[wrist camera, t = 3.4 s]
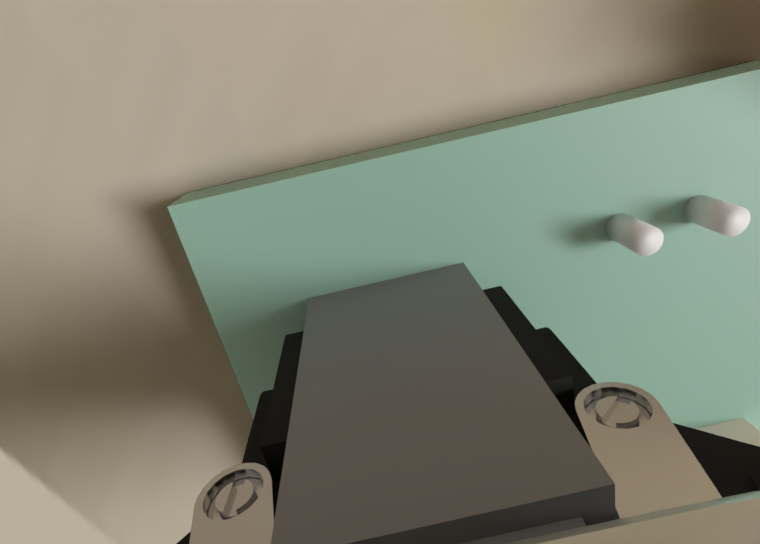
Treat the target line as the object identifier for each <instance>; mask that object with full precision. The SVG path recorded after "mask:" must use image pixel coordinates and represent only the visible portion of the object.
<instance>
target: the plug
mask: <svg viewBox="0 0 760 544" xmlns="http://www.w3.org/2000/svg"><path fill="white" fill-rule="evenodd" d="M612 520H616V506H615V483H614V482H613V480H612V479H611V477H610V476H609V474H608V473H607V471H606V470H605V468H604V467H603V466H602V464H601V463H600V461H599V460H598V458H597V457H596V455H595V454H594V452H593V451H592V449H591V448H590V447H589V445H588V444H587V442H586V441H585V439H584V438H583V436H582V435H581V433H580V432H579V430H578V429H577V428H576V426H575V425H574V423H573V422H572V420H571V419H570V417H569V416H568V414H567V413H566V411H565V410H564V409H563V407H562V406H561V404H560V403H559V401H558V400H557V398H556V397H555V395H554V394H553V392H552V391H551V390H550V388H549V387H548V385H547V384H546V382H545V381H544V379H543V378H542V376H541V375H540V373H539V372H538V371H537V369H536V368H535V366H534V365H533V363H532V362H531V360H530V359H529V357H528V356H527V354H526V353H525V352H524V350H523V349H522V347H521V346H520V344H519V343H518V341H517V340H516V338H515V337H514V335H513V334H512V333H511V331H510V330H509V328H508V327H507V325H506V324H505V322H504V321H503V319H502V318H501V316H500V315H499V314H498V312H497V311H496V309H495V308H494V306H493V305H492V303H491V302H490V300H489V299H488V297H487V296H486V295H485V293H484V292H483V290H482V289H481V287H480V286H479V284H478V283H477V281H476V280H475V278H474V277H473V276H472V274H471V273H470V271H469V270H468V268H467V267H466V265H465V264H464V262H463V263H459V264H455V265H450V266H446V267H442V268H437V269H433V270H429V271H424V272H420V273H415V274H411V275H407V276H402V277H398V278H394V279H389V280H385V281H381V282H376V283H372V284H368V285H363V286H359V287H354V288H350V289H346V290H341V291H337V292H333V293H328V294H324V295H320V296H315V297H311V298H309V300H308V307H307V313H306V320H305V326H304V333H303V339H302V346H301V352H300V358H299V365H298V371H297V378H296V384H295V391H294V397H293V403H292V410H291V416H290V423H289V429H288V436H287V442H286V448H285V455H284V461H283V468H282V474H281V481H280V487H279V493H278V500H277V506H276V513H275V519H274V526H273V532H272V538H271V544H506V543H511V542H515V541H520V540H524V539H529V538H533V537H538V536H543V535H547V534H552V533H556V532H561V531H566V530H570V529H575V528H580V527H584V526H589V525H593V524H598V523H603V522H607V521H612Z"/></svg>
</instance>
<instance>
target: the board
mask: <svg viewBox="0 0 760 544" xmlns="http://www.w3.org/2000/svg"><path fill="white" fill-rule="evenodd" d="M167 208H168V210H169V213H170V215H171V218H172V220H173V223H174V225H175V228H176V230H177V233H178V235H179V238H180V240H181V243H182V245H183V248H184V250H185V252H186V255H187V257H188V260H189V262H190V265H191V267H192V270H193V272H194V275H195V277H196V280H197V282H198V285H199V287H200V290H201V292H202V295H203V297H204V300H205V302H206V304H207V307H208V309H209V312H210V314H211V317H212V319H213V322H214V324H215V327H216V329H217V332H218V334H219V337H220V339H221V342H222V344H223V347H224V349H225V351H226V354H227V356H228V359H229V361H230V364H231V366H232V369H233V371H234V374H235V376H236V379H237V381H238V384H239V386H240V389H241V391H242V394H243V396H244V399H245V401H246V403H247V406H248V408H249V411H250V413H251V416H252V418H253V420H254V416H255V412H256V409H257V405H258V401H259V397H260V395H261V393H262V392H263V391H267V390H271V389H273V387H274V383H275V378H276V374H277V369H278V365H279V361H280V356H281V352H282V347H283V343H284V339H285V335H288V334H292V333H296V332H301V331H304V326H305V320H306V313H307V307H308V300H309V298H311V297H315V296H320V295H324V294H328V293H333V292H337V291H341V290H346V289H350V288H354V287H359V286H363V285H368V284H372V283H376V282H381V281H385V280H389V279H394V278H398V277H402V276H407V275H411V274H415V273H420V272H424V271H429V270H433V269H437V268H442V267H446V266H450V265H455V264H459V263H463V262H464V264H465V265H466V267H467V268H468V270H469V271H470V273H471V274H472V276H473V277H474V278H475V280H476V281H477V283H478V284H479V286H480V287H481V289H482V290H484V289H489V288H493V287H498V286H502V287H503V289H504V290H505V291H506V292H507V294H508V295H509V296H510V297H511V299H512V300H513V301H514V303H515V304H516V305H517V306H518V308H519V309H520V310H521V311H522V313H523V314H524V315H525V316H526V318H527V319H528V320H529V321H530V323H531V324H532V325H533V327H534V328H535V329H540V328H544V327H548V328H549V329H551V330H552V331H553V333H554V334H555V335H556V336H557V337H558V338H559V340H560V341H561V342H562V343H563V344H564V345H565V347H566V348H567V349H568V350H569V351H570V353H571V354H572V355H573V356H574V357H575V358H576V360H577V361H578V362H579V363H580V364H581V365H582V367H583V368H584V369H585V370H586V371H587V372H588V374H589V375H590V376H591V377H592V378H593V379H594V381H595V382H596V383H602V382H620V383H625V384H630V385H633V386H636V387H639V388H642V389H643V390H645V391H647V392H648V393H650V394H651V395H653V396H654V397H655V399H656V400H657V401H658V402H659V403H660V404H661V406H662V407H663V409H664V410H665V412H666V413H667V415H668V416H669V418H670V419H671V421H672V422H673V423H675V424H679V425H683V426H686V427H690V428H693V429H697V430H701V431H704V432H708V433H712V434H715V435H719V436H722V437H726V438H730V439H733V440H737V441H740V442H744V443H748V444H751V445H755V446H759V447H760V60H757V61H752V62H748V63H744V64H739V65H735V66H731V67H726V68H722V69H718V70H714V71H709V72H705V73H701V74H696V75H692V76H688V77H683V78H679V79H675V80H671V81H666V82H662V83H658V84H653V85H649V86H645V87H640V88H636V89H632V90H627V91H623V92H619V93H615V94H610V95H606V96H602V97H597V98H593V99H589V100H584V101H580V102H576V103H572V104H567V105H563V106H559V107H554V108H550V109H546V110H541V111H537V112H533V113H529V114H524V115H520V116H516V117H511V118H507V119H503V120H498V121H494V122H490V123H485V124H481V125H477V126H473V127H468V128H464V129H460V130H455V131H451V132H447V133H442V134H438V135H434V136H430V137H425V138H421V139H417V140H412V141H408V142H404V143H399V144H395V145H391V146H387V147H382V148H378V149H374V150H369V151H365V152H361V153H356V154H352V155H348V156H343V157H339V158H335V159H331V160H326V161H322V162H318V163H313V164H309V165H305V166H300V167H296V168H292V169H288V170H283V171H279V172H275V173H270V174H266V175H262V176H257V177H253V178H249V179H245V180H240V181H236V182H232V183H227V184H223V185H219V186H214V187H210V188H206V189H201V190H197V191H193V192H189V193H186V194H185V195H183V196H182V197H181V198H179V199H178V200H176V201H175V202H173V203H172V204H171V205H169V206H168V207H167Z"/></svg>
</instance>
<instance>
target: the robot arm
mask: <svg viewBox="0 0 760 544" xmlns="http://www.w3.org/2000/svg"><path fill="white" fill-rule="evenodd" d="M483 292H484V293H485V295H486V296H487V297H488V299H489V300H490V302H491V303H492V305H493V306H494V308H495V309H496V311H497V312H498V314H499V315H500V316H501V318H502V319H503V321H504V322H505V324H506V325H507V327H508V328H509V330H510V331H511V333H512V334H513V335H514V337H515V338H516V340H517V341H518V343H519V344H520V346H521V347H522V349H523V350H524V352H525V353H526V354H527V356H528V357H529V359H530V360H531V362H532V363H533V365H534V366H535V368H536V369H537V371H538V372H539V373H540V375H541V376H542V378H543V379H544V381H545V382H546V384H547V385H548V387H549V388H550V390H551V391H552V392H553V394H554V395H555V397H556V398H557V400H558V401H559V403H560V404H561V406H562V407H563V409H564V410H565V411H566V413H567V414H568V416H569V417H570V419H571V420H572V422H573V423H574V425H575V426H576V428H577V429H578V430H579V432H580V433H581V435H582V436H583V438H584V439H585V441H586V442H587V444H588V445H589V447H590V448H591V449H592V451H593V452H594V454H595V455H596V457H597V458H598V460H599V461H600V463H601V464H602V466H603V467H604V468H605V470H606V471H607V473H608V474H609V476H610V477H611V479H612V480H613V482H614V483H615V506H616V520H612V521H607V522H603V523H598V524H593V525H589V526H584V527H580V528H575V529H570V530H566V531H561V532H556V533H552V534H547V535H543V536H538V537H533V538H529V539H524V540H520V541H515V542H511V543H506V544H760V447H759V446H755V445H751V444H748V443H744V442H740V441H737V440H733V439H730V438H726V437H722V436H719V435H715V434H712V433H708V432H704V431H701V430H697V429H693V428H690V427H686V426H683V425H679V424H675V423H673V422H672V421H671V419H670V418H669V416H668V415H667V413H666V412H665V410H664V409H663V407H662V406H661V404H660V403H659V402H658V401H657V400H656V399H655V397H654V396H653V395H651V394H650V393H648V392H647V391H645V390H643V389H642V388H639V387H636V386H633V385H630V384H625V383H620V382H602V383H596V382H595V381H594V379H593V378H592V377H591V376H590V375H589V374H588V372H587V371H586V370H585V369H584V368H583V367H582V365H581V364H580V363H579V362H578V361H577V360H576V358H575V357H574V356H573V355H572V354H571V353H570V351H569V350H568V349H567V348H566V347H565V345H564V344H563V343H562V342H561V341H560V340H559V338H558V337H557V336H556V335H555V334H554V333H553V331H552V330H551V329H549V328H548V327H544V328H540V329H535V328H534V327H533V325H532V324H531V323H530V321H529V320H528V319H527V318H526V316H525V315H524V314H523V313H522V311H521V310H520V309H519V308H518V306H517V305H516V304H515V303H514V301H513V300H512V299H511V297H510V296H509V295H508V294H507V292H506V291H505V290H504V289H503V287H502V286H498V287H493V288H489V289H484V290H483ZM303 333H304V331H301V332H296V333H292V334H288V335H285V339H284V343H283V347H282V352H281V356H280V361H279V365H278V369H277V374H276V378H275V383H274V387H273V389H271V390H267V391H263V392H262V393H261V395H260V397H259V401H258V405H257V409H256V412H255V416H254V420H253V424H252V427H251V431H250V435H249V439H248V443H247V446H246V450H245V454H244V458H243V462H242V464H239V465H235V466H233V467H230V468H228V469H226V470H224V471H222V472H221V473H220V474H218V475H217V476H215V477H214V478H213V479H212V480H211V481H210V482H209V483H208V484H207V485H206V486H205V487H204V488H203V489H202V491H201V493H200V494H199V496H198V497H197V500H196V503H195V507H194V513H193V520H192V527H191V532H190V533H188V534H187V535H186V536H185V537H184V538H183V539H182V540H180V541H179V542H178V543H177V544H271V538H272V532H273V526H274V519H275V513H276V506H277V500H278V493H279V487H280V481H281V474H282V468H283V461H284V455H285V448H286V442H287V436H288V429H289V423H290V416H291V410H292V403H293V397H294V391H295V384H296V378H297V371H298V365H299V358H300V352H301V346H302V339H303Z"/></svg>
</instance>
